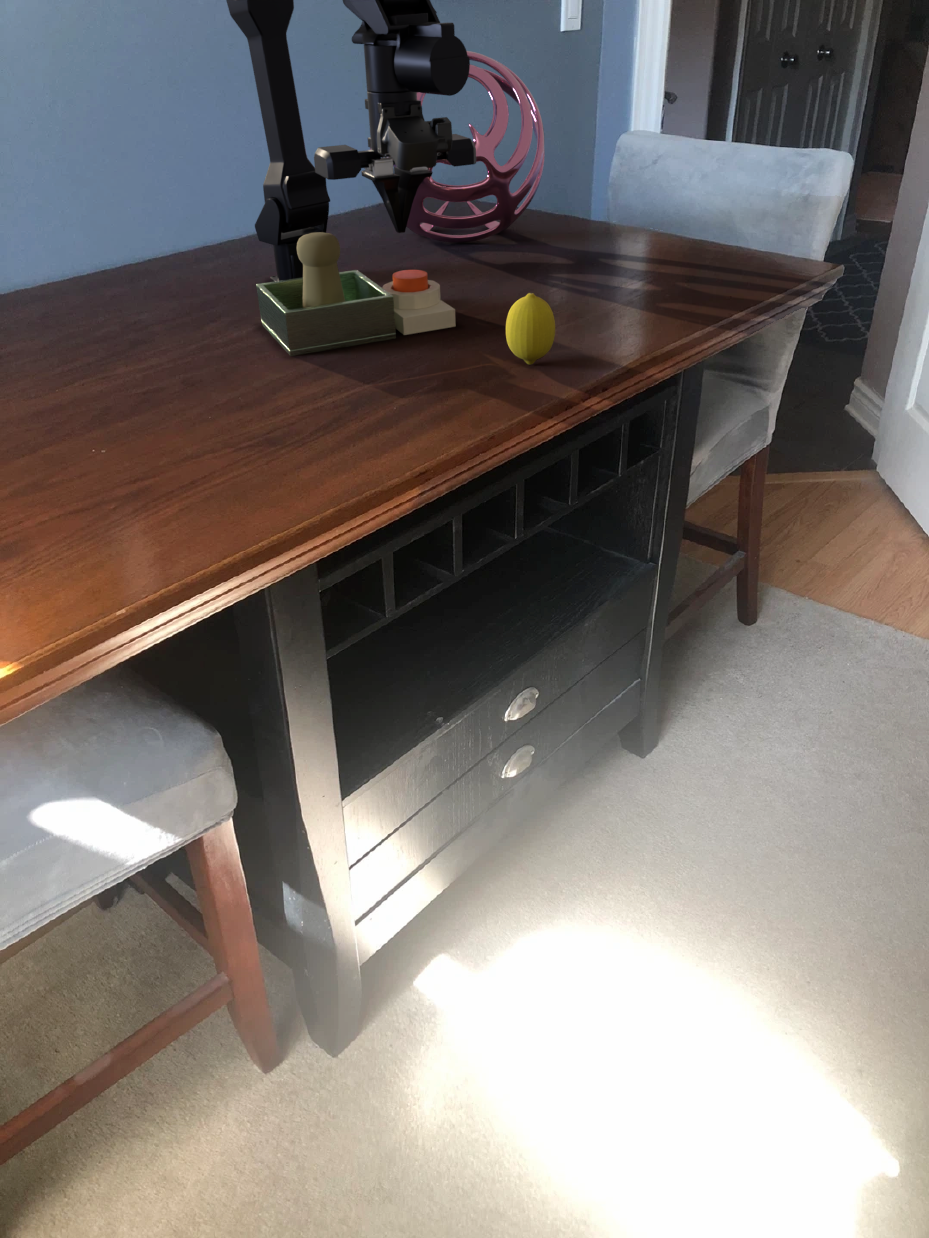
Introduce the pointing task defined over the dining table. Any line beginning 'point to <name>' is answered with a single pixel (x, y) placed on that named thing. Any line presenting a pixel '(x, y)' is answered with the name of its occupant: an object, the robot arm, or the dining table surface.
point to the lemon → (530, 328)
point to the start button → (410, 281)
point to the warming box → (326, 315)
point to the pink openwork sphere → (487, 164)
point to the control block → (420, 310)
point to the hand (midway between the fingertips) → (400, 232)
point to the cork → (320, 269)
